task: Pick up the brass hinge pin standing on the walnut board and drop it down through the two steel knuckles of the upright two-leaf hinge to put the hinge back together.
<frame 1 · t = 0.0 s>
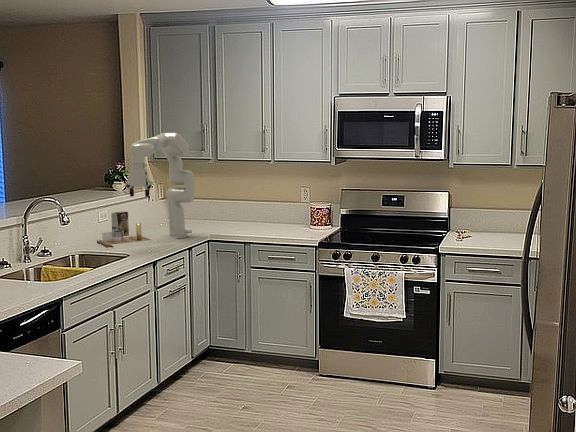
hand: (139, 196, 414), 31 cm above the worktop, tool pointing down, fingers open, 9 cm apart
walnut board: (124, 242, 445), on the worktop
brass pin: (139, 239, 445), point 1 cm above the worktop, touching walnut board
coffee box: (120, 237, 465), on the worktop
hinge: (118, 241, 443), resting on walnut board
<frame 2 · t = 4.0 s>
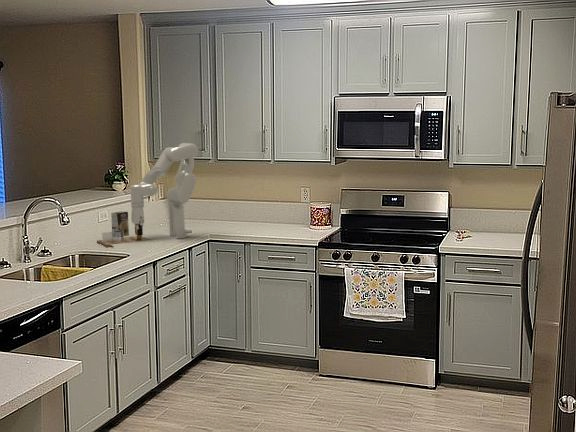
hand: (139, 234, 445), 5 cm above the worktop, tool pointing down, fingers closed on brass pin, 3 cm apart
brass pin: (139, 239, 445), point 1 cm above the worktop, touching gripper, walnut board
everything else where it was.
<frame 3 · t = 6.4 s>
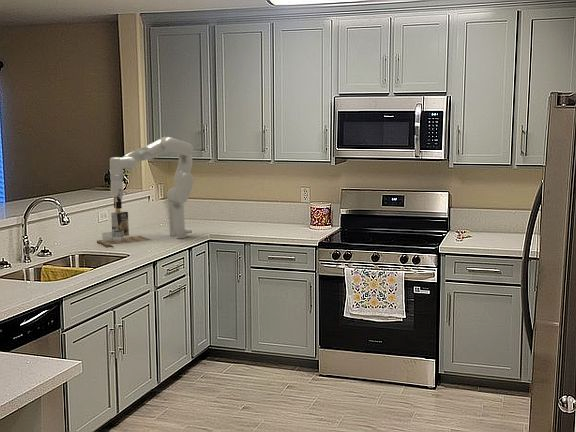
hand: (117, 207, 440), 22 cm above the worktop, tool pointing down, fingers closed on brass pin, 3 cm apart
brass pin: (118, 213, 440), point 19 cm above the worktop, touching gripper
everything else where it was.
when the fingers open (9 cm above the worktop, at t = 9.1 s): brass pin drops 4 cm, resting on walnut board.
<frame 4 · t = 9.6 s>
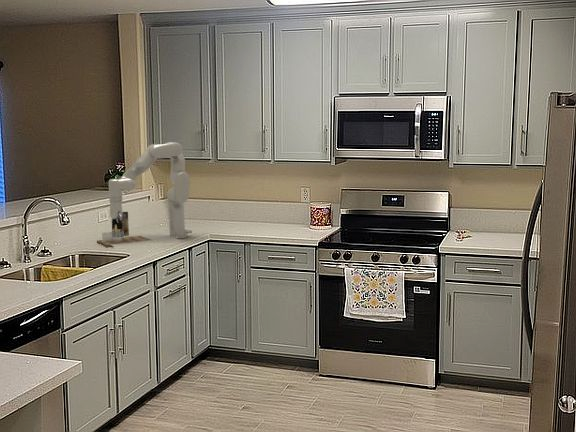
hand: (117, 228, 441), 9 cm above the worktop, tool pointing down, fingers open, 8 cm apart
brass pin: (118, 241, 443), point 2 cm above the worktop, touching walnut board
everything else where it was.
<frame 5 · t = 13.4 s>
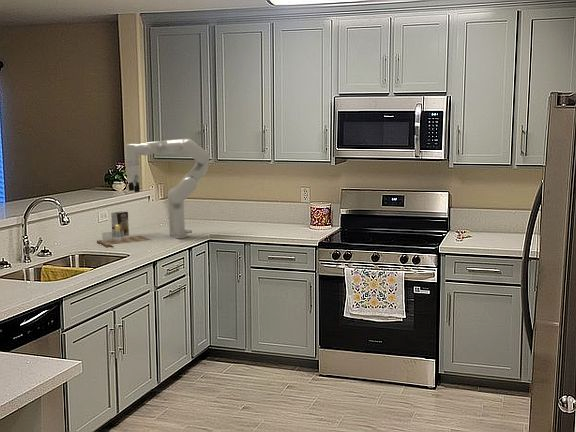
hand: (134, 191, 451), 30 cm above the worktop, tool pointing down, fingers open, 9 cm apart
nothing on the worktop moved.
at the end: brass pin 0.0 cm from the hinge (horizontally); brass pin point 1.5 cm above the worktop; brass pin tilted 1° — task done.
